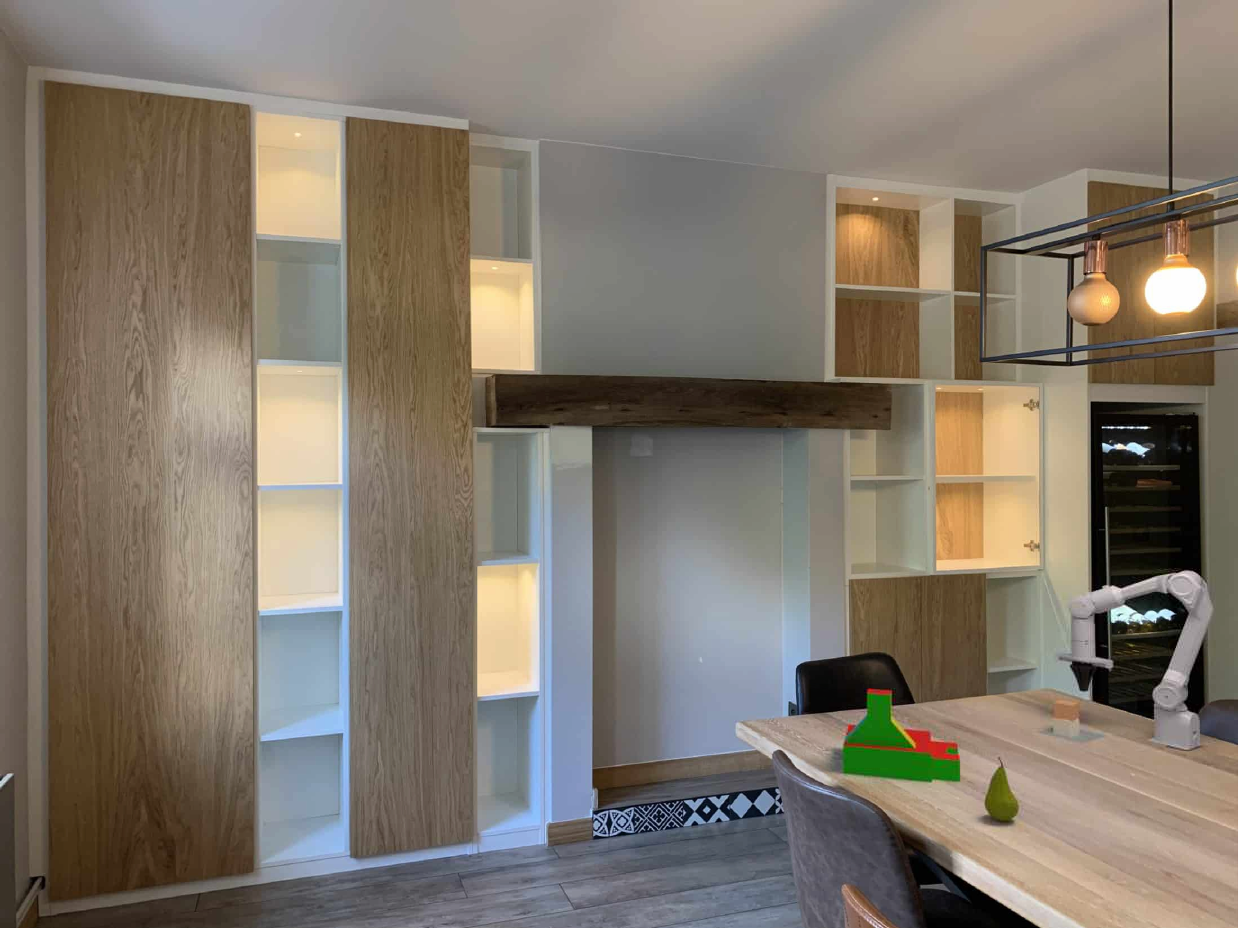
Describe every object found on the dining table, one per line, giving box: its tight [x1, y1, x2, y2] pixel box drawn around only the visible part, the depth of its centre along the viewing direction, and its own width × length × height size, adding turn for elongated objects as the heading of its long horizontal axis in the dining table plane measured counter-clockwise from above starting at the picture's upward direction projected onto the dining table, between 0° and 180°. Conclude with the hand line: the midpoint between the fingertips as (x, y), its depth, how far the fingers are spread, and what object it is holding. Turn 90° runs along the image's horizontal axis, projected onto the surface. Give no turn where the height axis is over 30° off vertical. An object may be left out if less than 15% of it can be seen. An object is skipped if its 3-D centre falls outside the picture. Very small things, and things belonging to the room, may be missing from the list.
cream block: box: [1052, 717, 1080, 737], centre depth 231 cm, size 4×4×4 cm
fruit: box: [984, 756, 1020, 822], centre depth 172 cm, size 6×6×12 cm
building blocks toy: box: [842, 688, 961, 783], centre depth 205 cm, size 19×25×18 cm
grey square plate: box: [1037, 727, 1107, 744], centre depth 231 cm, size 12×12×1 cm
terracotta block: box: [1053, 699, 1080, 721], centre depth 232 cm, size 4×4×4 cm
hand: (1083, 690), depth 238 cm, fingers closed
